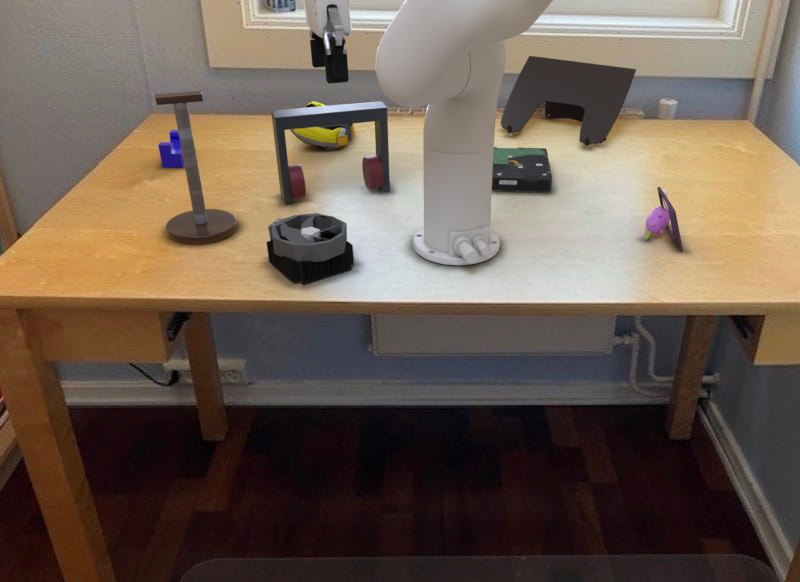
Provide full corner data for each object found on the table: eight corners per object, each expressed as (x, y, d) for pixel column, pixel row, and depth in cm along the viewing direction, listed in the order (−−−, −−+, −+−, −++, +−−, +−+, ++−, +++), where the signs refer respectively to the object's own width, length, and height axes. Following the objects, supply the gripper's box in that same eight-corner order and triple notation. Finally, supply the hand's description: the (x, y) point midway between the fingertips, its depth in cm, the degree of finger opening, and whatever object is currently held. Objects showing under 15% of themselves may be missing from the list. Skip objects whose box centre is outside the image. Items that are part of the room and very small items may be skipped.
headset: (391, 193, 129) (388, 109, 121) (285, 207, 124) (276, 119, 116) (382, 182, 133) (379, 99, 125) (280, 194, 128) (270, 109, 120)
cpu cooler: (360, 231, 104) (291, 251, 99) (362, 269, 107) (296, 290, 102) (322, 205, 111) (256, 222, 106) (325, 241, 114) (261, 260, 109)
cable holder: (182, 167, 136) (178, 145, 134) (162, 167, 136) (158, 145, 134) (195, 151, 143) (191, 130, 141) (175, 151, 143) (171, 129, 141)
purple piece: (680, 209, 110) (664, 184, 118) (644, 220, 111) (630, 195, 118) (688, 249, 114) (671, 223, 121) (652, 260, 115) (638, 233, 122)
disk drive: (552, 194, 131) (545, 161, 143) (553, 178, 129) (546, 146, 141) (490, 193, 131) (488, 160, 143) (491, 177, 129) (489, 145, 141)
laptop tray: (495, 157, 160) (490, 124, 153) (531, 82, 170) (528, 46, 163) (605, 176, 153) (605, 142, 146) (635, 96, 163) (637, 60, 156)
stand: (241, 239, 114) (221, 101, 103) (169, 249, 111) (140, 108, 100) (232, 212, 122) (212, 81, 110) (165, 220, 119) (137, 86, 107)
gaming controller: (289, 152, 144) (342, 155, 143) (286, 123, 141) (340, 126, 140) (310, 126, 156) (359, 129, 156) (307, 99, 153) (358, 101, 152)
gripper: (362, -47, 102) (369, 86, 112) (332, -61, 116) (341, 59, 125) (305, -45, 100) (317, 91, 110) (281, -60, 114) (294, 62, 123)
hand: (330, 74), depth 117 cm, fingers open, 9 cm apart
